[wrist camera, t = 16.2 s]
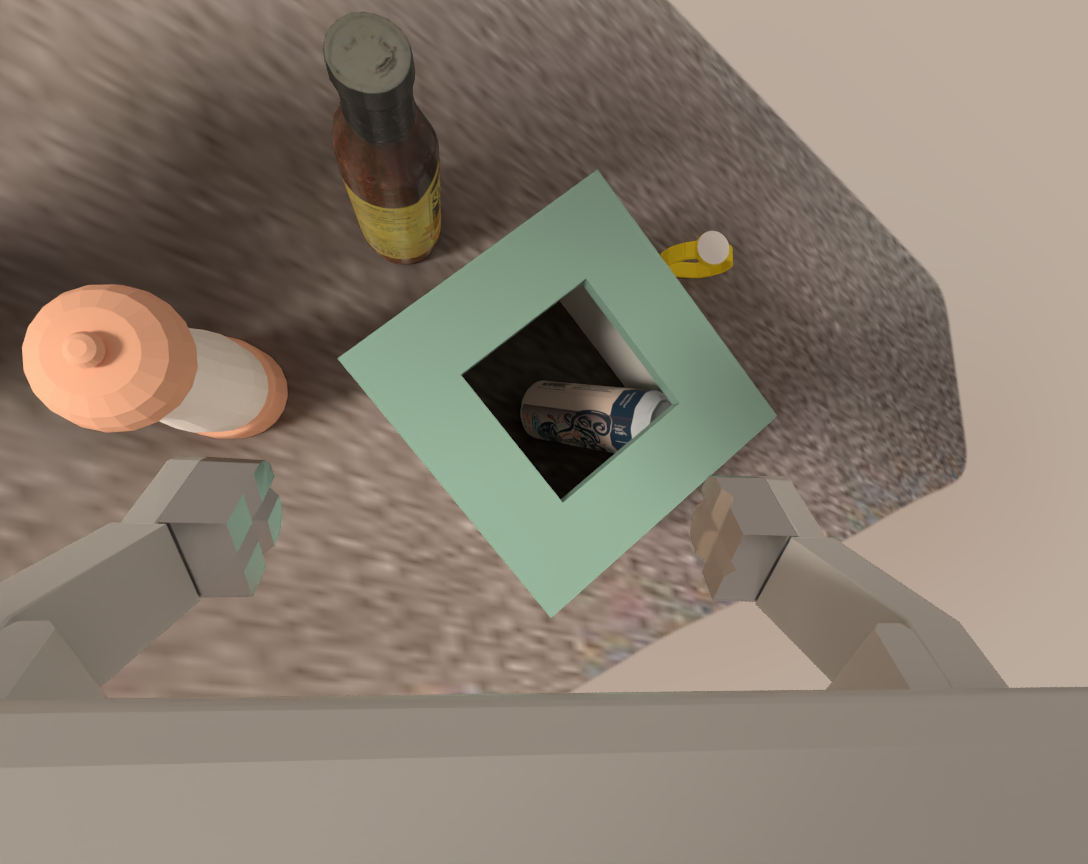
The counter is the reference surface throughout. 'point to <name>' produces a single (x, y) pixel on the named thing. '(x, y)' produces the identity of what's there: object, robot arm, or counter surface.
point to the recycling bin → (624, 343)
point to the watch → (700, 256)
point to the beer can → (589, 413)
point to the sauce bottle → (383, 138)
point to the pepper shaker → (146, 367)
